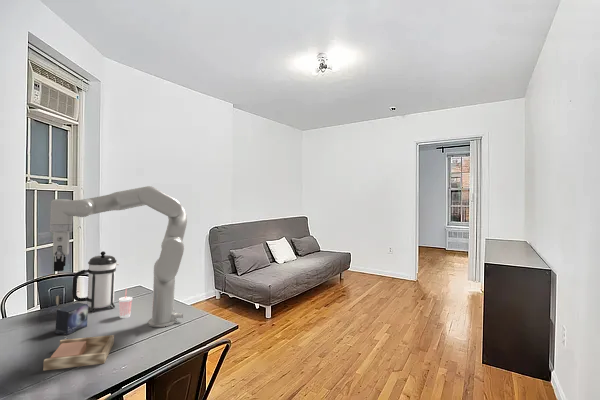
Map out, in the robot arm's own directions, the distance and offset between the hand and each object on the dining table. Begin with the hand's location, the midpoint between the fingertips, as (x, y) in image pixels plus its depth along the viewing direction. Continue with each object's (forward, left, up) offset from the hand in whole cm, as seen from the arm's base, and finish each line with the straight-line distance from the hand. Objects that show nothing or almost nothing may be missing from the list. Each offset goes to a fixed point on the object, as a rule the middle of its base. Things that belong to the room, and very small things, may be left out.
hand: (59, 268), depth 134 cm
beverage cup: (-23, -17, -29) cm, 40 cm away
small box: (-4, -5, -29) cm, 30 cm away
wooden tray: (-15, +23, -29) cm, 40 cm away
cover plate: (-11, +23, -28) cm, 38 cm away
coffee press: (-8, -32, -29) cm, 44 cm away
